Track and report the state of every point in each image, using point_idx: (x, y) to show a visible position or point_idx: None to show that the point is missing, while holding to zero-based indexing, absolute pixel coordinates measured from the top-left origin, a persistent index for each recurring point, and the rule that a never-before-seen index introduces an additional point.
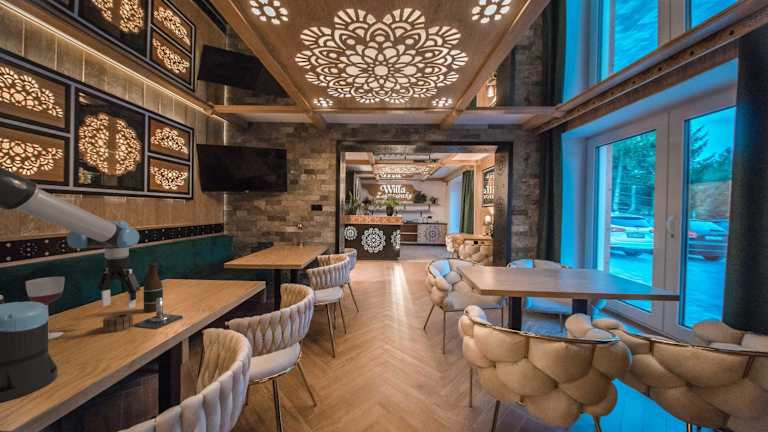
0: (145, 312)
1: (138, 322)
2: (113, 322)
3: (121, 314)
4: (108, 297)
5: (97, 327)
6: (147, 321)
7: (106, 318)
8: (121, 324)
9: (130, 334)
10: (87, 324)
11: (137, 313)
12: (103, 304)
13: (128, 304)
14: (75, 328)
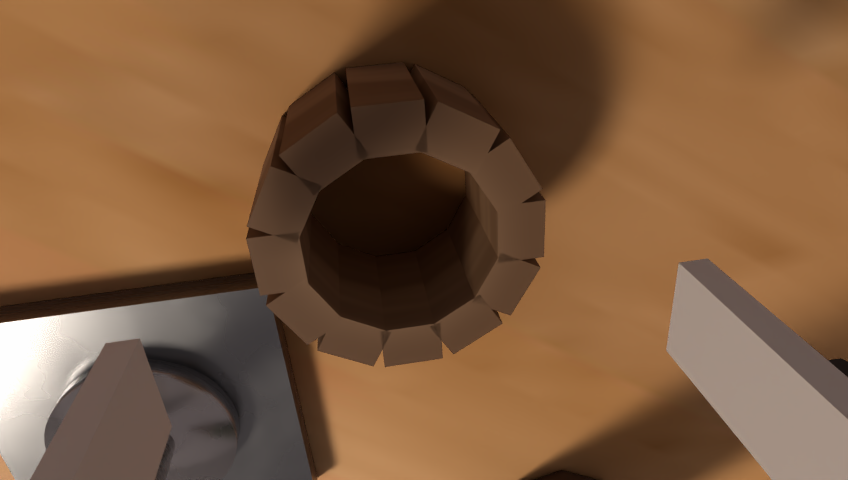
0: (560, 471)
1: (270, 315)
2: (294, 134)
3: (459, 306)
4: (746, 417)
5: (634, 128)
6: (211, 360)
7: (479, 158)
8: (260, 182)
9: (31, 121)
10: (818, 144)
11: (612, 439)
12: (697, 281)
13: (88, 396)
14: (842, 36)
